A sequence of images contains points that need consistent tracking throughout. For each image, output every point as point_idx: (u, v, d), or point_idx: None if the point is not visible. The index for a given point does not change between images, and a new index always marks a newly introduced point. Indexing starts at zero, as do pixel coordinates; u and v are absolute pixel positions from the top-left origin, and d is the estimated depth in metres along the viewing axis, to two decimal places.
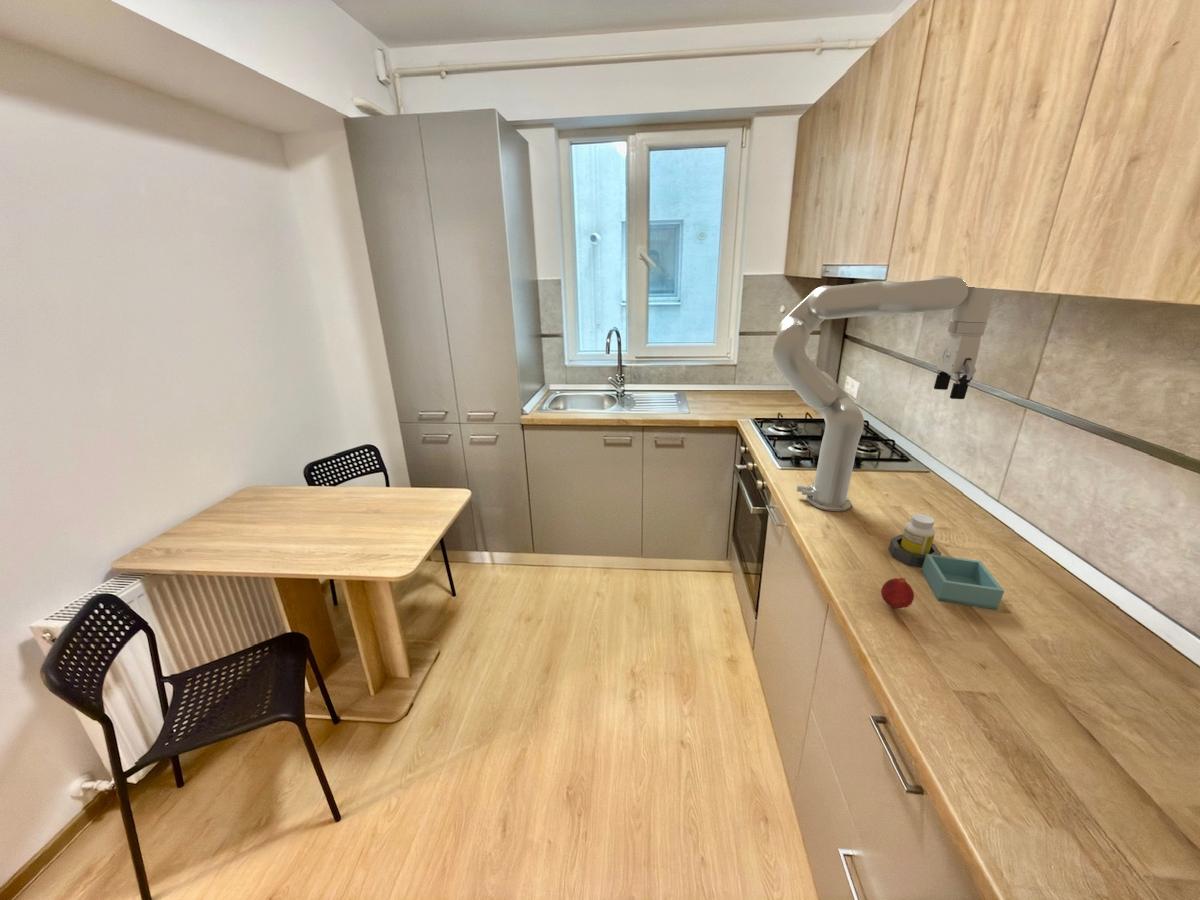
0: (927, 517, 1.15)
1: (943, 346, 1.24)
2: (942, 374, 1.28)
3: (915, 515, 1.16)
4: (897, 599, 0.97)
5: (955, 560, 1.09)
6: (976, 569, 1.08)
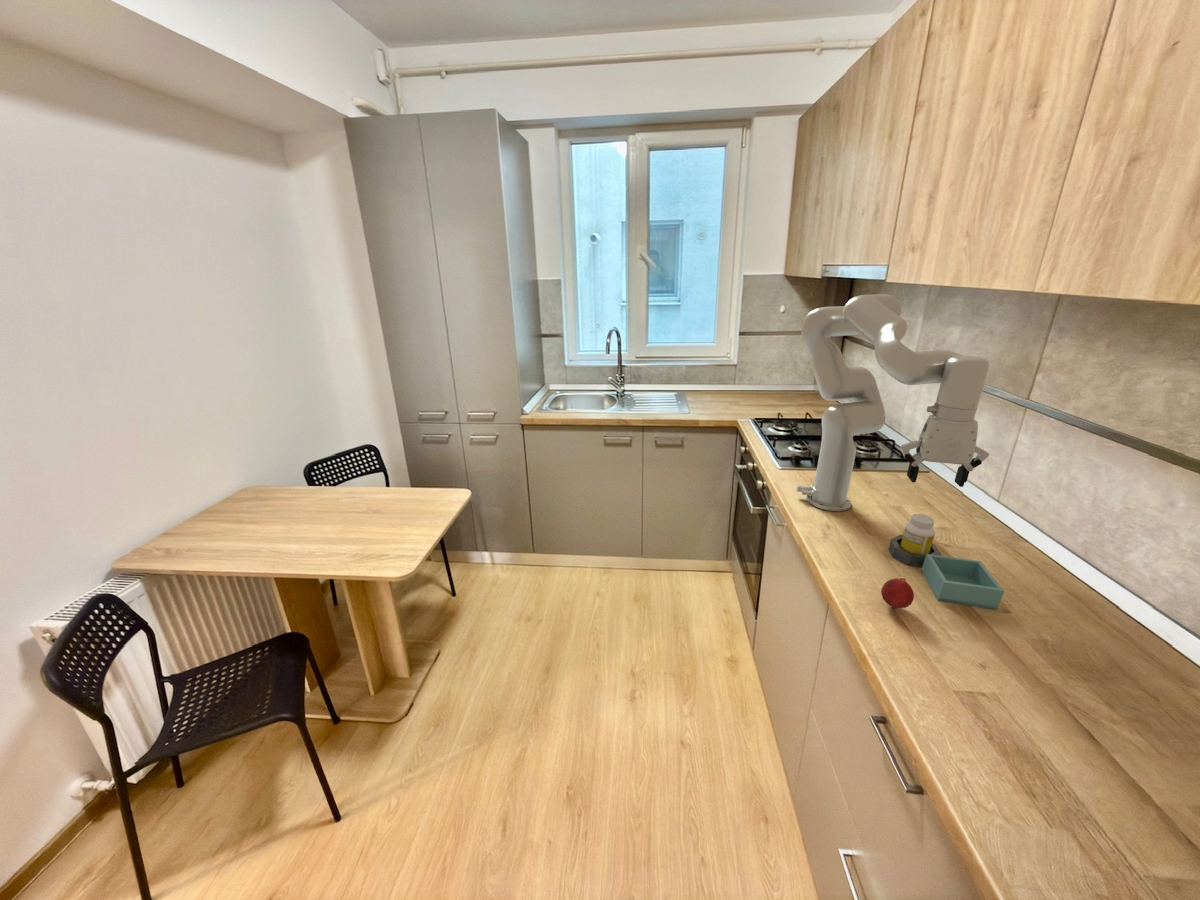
0: (927, 517, 1.15)
1: (935, 437, 1.04)
2: None
3: (915, 515, 1.16)
4: (897, 599, 0.97)
5: (955, 560, 1.09)
6: (976, 569, 1.08)
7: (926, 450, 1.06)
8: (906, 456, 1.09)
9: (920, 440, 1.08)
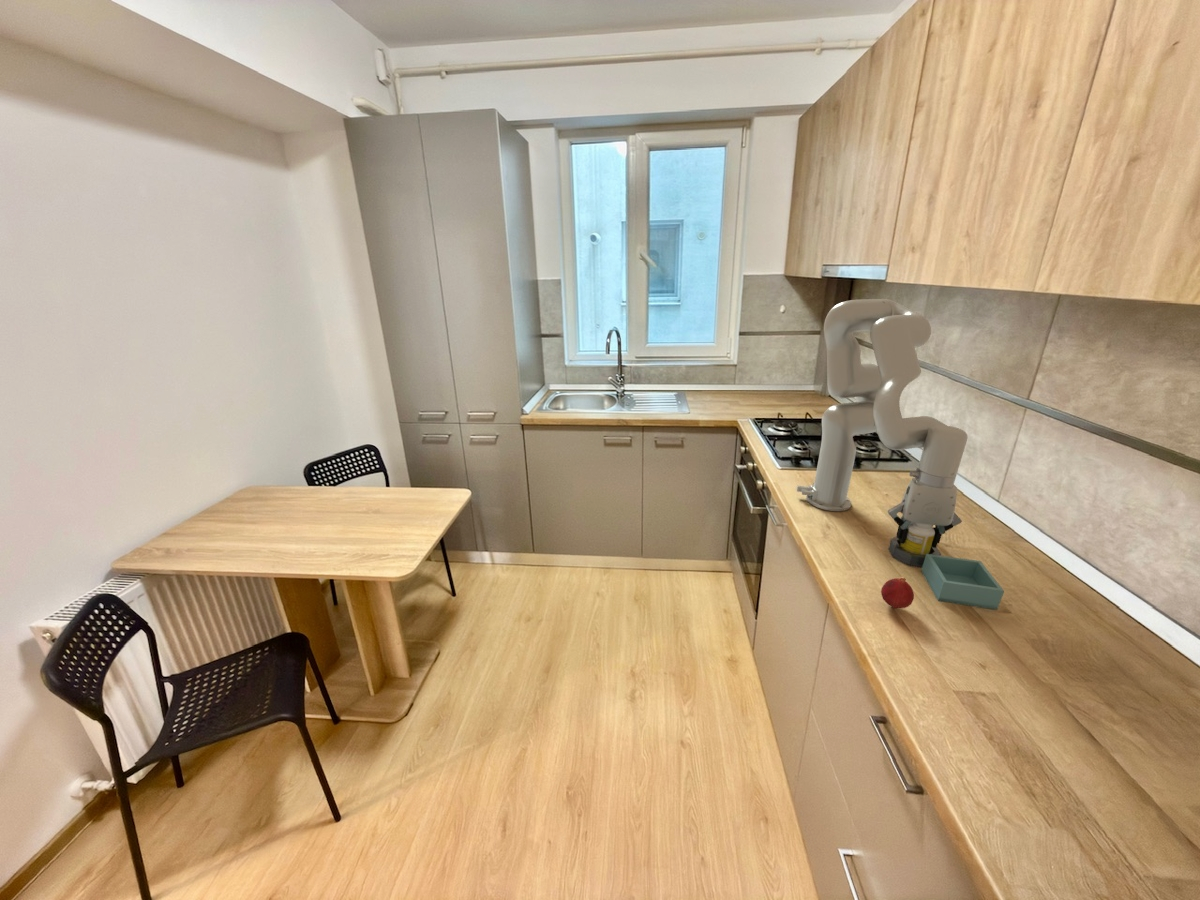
0: None
1: (917, 500, 1.11)
2: (906, 526, 1.16)
3: None
4: (897, 599, 0.97)
5: (955, 560, 1.09)
6: (976, 569, 1.08)
7: (908, 512, 1.12)
8: (895, 519, 1.15)
9: (903, 503, 1.14)
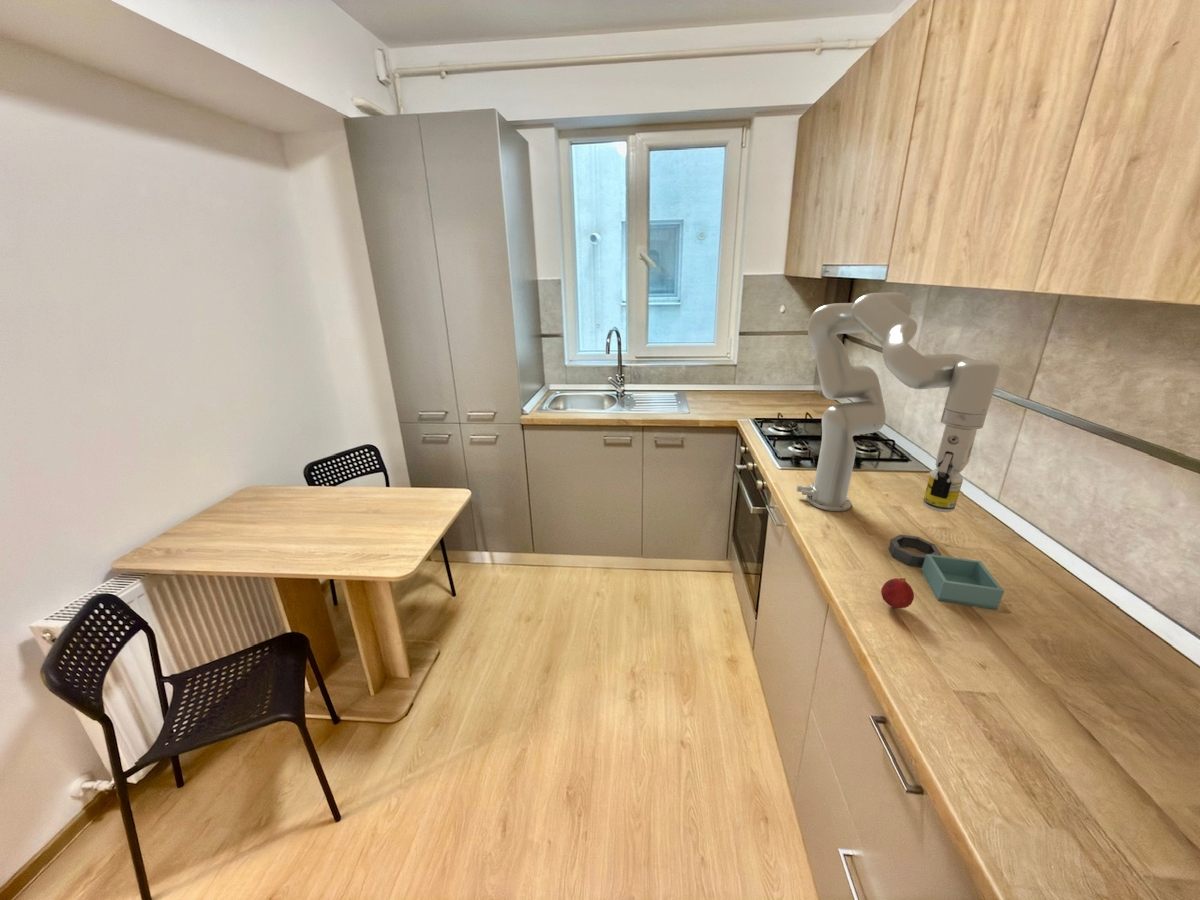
0: None
1: (968, 446, 1.00)
2: None
3: None
4: (897, 599, 0.97)
5: (955, 560, 1.09)
6: (976, 569, 1.08)
7: (962, 462, 1.00)
8: (947, 476, 1.02)
9: (949, 455, 1.01)
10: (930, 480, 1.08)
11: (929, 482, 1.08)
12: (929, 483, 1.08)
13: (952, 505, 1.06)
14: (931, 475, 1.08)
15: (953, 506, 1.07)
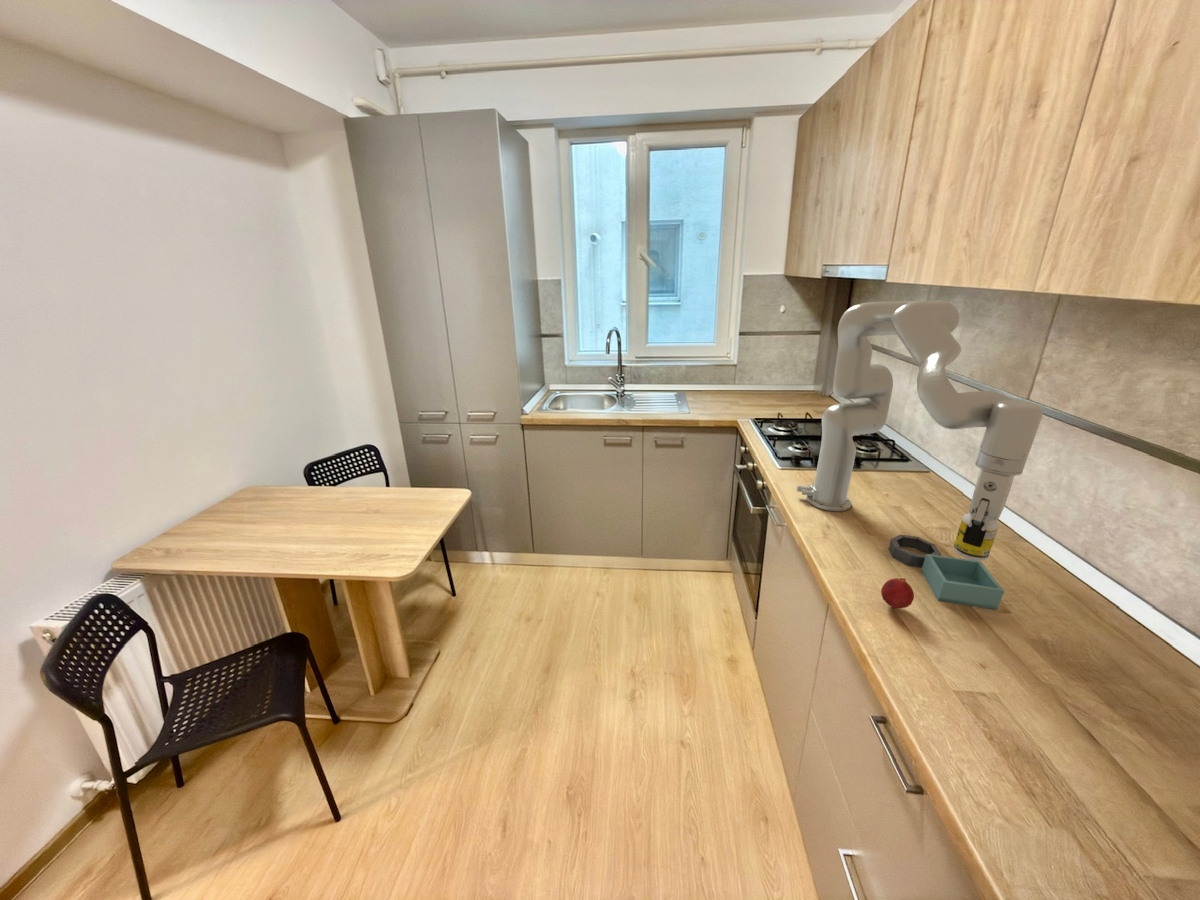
0: None
1: (1006, 493, 0.92)
2: None
3: None
4: (897, 599, 0.97)
5: (955, 560, 1.09)
6: (976, 569, 1.08)
7: (1000, 510, 0.93)
8: (982, 524, 0.94)
9: (985, 502, 0.94)
10: (962, 526, 1.01)
11: (961, 527, 1.01)
12: (961, 529, 1.01)
13: (986, 553, 0.99)
14: (963, 520, 1.00)
15: (987, 554, 0.99)
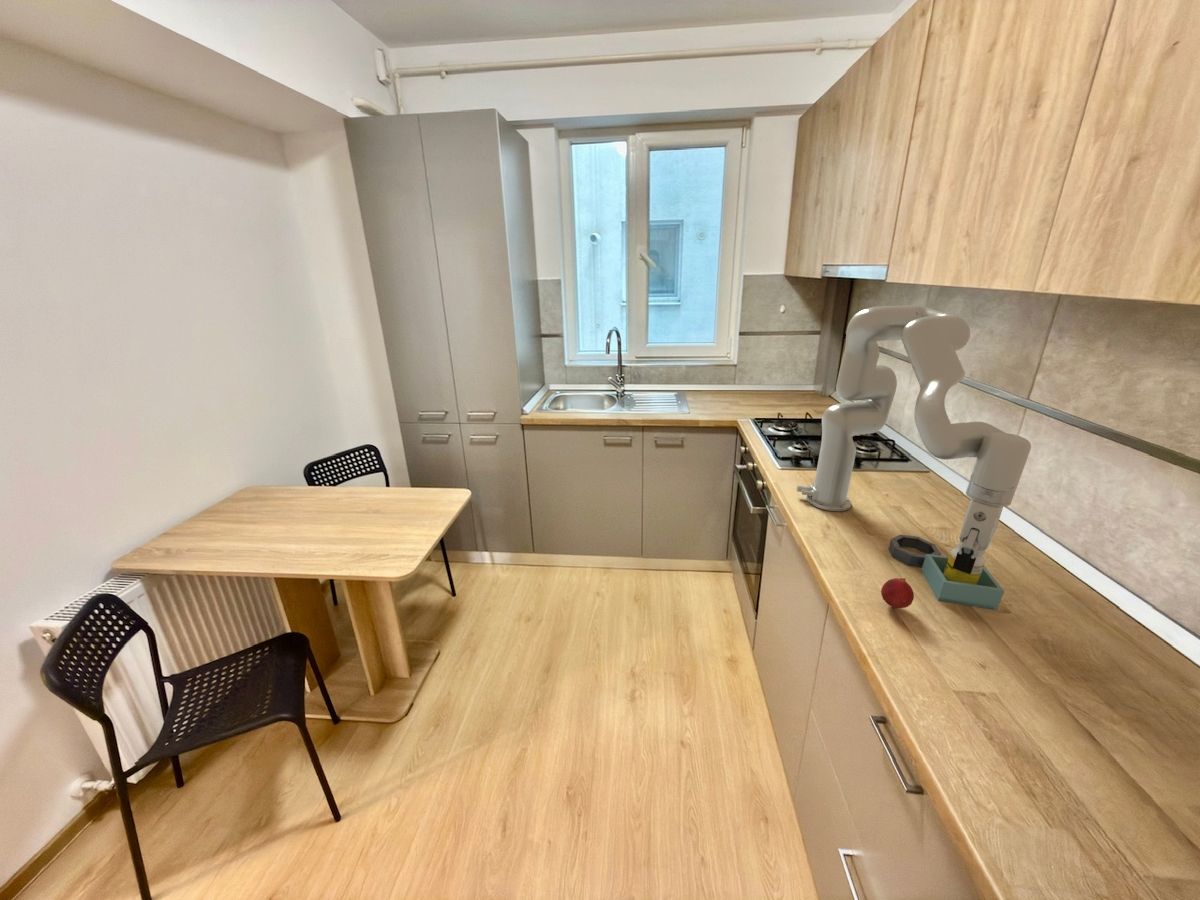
0: None
1: (995, 523, 0.95)
2: None
3: None
4: (897, 599, 0.97)
5: None
6: None
7: (989, 539, 0.96)
8: (972, 553, 0.96)
9: (975, 531, 0.96)
10: (951, 560, 1.04)
11: (949, 561, 1.04)
12: (949, 562, 1.04)
13: None
14: (952, 555, 1.04)
15: None
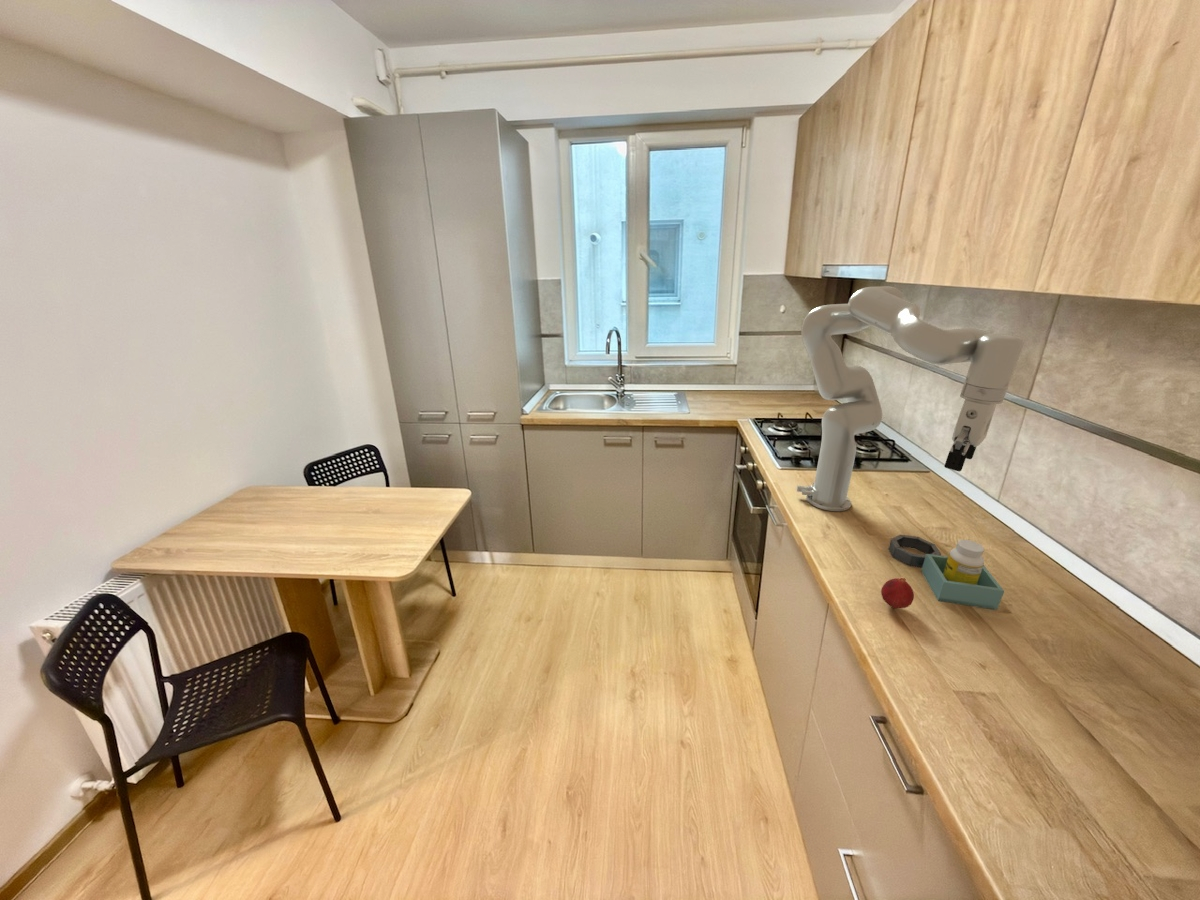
0: (967, 541, 1.03)
1: (986, 421, 1.00)
2: None
3: (963, 546, 1.02)
4: (897, 599, 0.97)
5: None
6: None
7: (979, 436, 1.01)
8: (962, 448, 1.01)
9: (967, 428, 1.02)
10: (950, 560, 1.04)
11: (948, 562, 1.04)
12: (948, 563, 1.04)
13: None
14: (951, 555, 1.04)
15: None
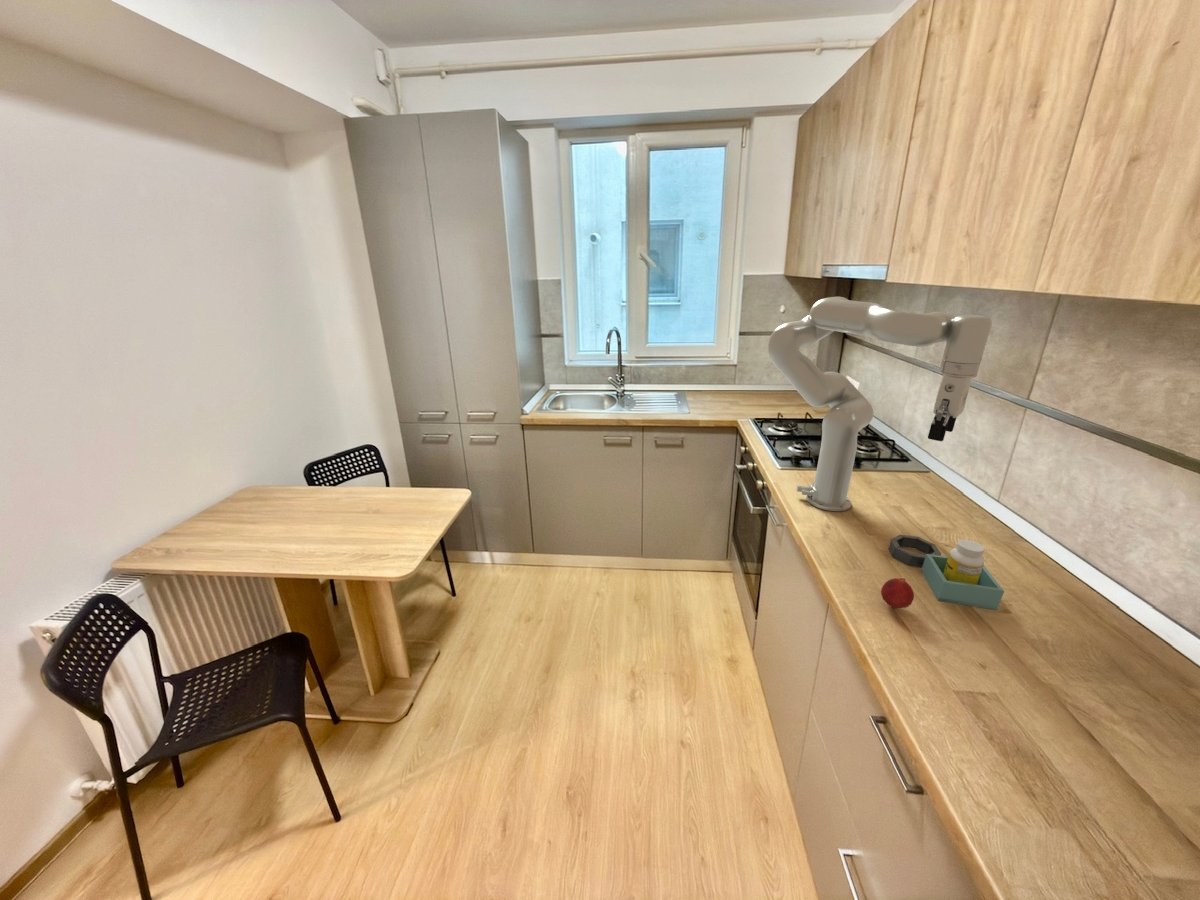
0: (968, 541, 1.03)
1: (963, 393, 1.10)
2: None
3: (963, 545, 1.02)
4: (897, 599, 0.97)
5: None
6: None
7: (957, 408, 1.11)
8: (943, 419, 1.11)
9: (946, 400, 1.12)
10: (950, 560, 1.04)
11: (949, 562, 1.04)
12: (949, 563, 1.04)
13: None
14: (951, 555, 1.04)
15: None
